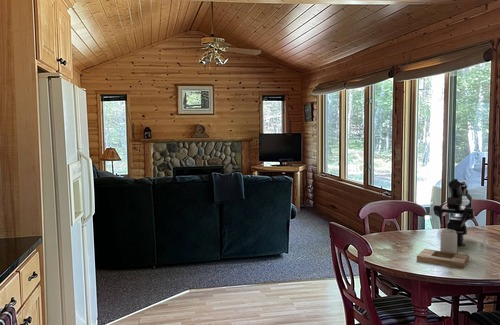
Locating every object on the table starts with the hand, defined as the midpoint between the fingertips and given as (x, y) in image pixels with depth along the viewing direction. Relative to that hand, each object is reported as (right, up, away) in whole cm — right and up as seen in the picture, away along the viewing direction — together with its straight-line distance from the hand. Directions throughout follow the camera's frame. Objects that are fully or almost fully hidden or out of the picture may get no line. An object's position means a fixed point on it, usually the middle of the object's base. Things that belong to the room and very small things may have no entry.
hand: (450, 225), depth 213 cm
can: (-2, -14, -3) cm, 14 cm away
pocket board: (-10, -15, -13) cm, 22 cm away
